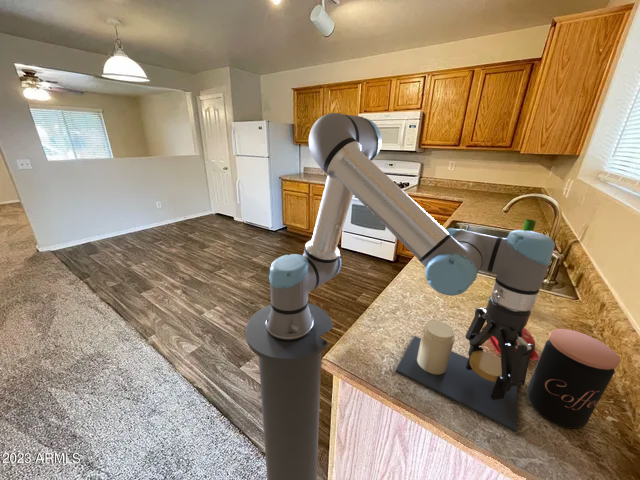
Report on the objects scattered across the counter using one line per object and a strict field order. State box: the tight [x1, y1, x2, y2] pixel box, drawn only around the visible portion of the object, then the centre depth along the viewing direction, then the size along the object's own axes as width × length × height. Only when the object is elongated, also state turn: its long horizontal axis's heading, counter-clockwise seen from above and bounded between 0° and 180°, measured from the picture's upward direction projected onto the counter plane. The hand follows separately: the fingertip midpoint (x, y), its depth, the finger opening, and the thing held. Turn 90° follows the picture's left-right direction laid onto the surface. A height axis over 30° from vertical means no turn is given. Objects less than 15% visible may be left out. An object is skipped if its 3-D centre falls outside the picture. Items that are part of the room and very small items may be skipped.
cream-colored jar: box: [417, 319, 456, 374], centre depth 69 cm, size 8×8×11 cm
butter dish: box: [488, 327, 540, 362], centre depth 77 cm, size 12×12×8 cm
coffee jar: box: [526, 328, 621, 429], centre depth 57 cm, size 11×11×18 cm
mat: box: [395, 335, 518, 433], centre depth 68 cm, size 26×16×1 cm, turn 55°
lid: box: [468, 350, 502, 382], centre depth 63 cm, size 8×8×2 cm
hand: (483, 382), depth 64 cm, fingers closed on lid, 8 cm apart
